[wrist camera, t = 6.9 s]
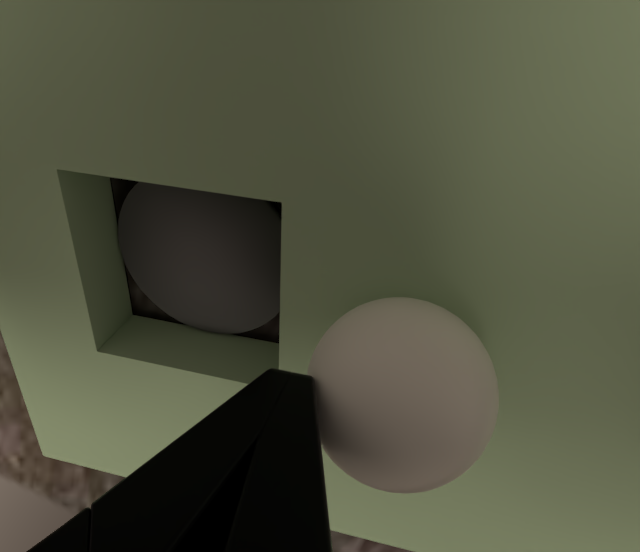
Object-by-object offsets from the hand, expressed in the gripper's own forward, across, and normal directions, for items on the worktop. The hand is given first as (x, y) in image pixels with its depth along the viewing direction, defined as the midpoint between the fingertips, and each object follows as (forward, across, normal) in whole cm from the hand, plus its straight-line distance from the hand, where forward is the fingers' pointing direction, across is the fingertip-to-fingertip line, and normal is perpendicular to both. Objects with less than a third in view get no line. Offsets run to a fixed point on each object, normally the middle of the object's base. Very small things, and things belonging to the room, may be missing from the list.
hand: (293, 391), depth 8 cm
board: (+4, -1, 0) cm, 4 cm away
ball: (+1, -2, 0) cm, 2 cm away
